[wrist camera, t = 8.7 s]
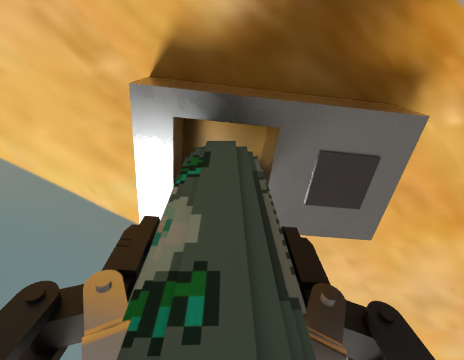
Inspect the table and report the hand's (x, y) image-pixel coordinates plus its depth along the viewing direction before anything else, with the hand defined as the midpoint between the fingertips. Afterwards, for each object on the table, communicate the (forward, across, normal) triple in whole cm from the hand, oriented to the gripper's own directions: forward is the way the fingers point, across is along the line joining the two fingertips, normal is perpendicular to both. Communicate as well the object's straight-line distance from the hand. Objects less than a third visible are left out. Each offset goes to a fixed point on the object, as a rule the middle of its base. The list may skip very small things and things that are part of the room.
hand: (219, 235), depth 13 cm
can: (+7, 0, 0) cm, 7 cm away
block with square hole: (+13, -4, 0) cm, 14 cm away
